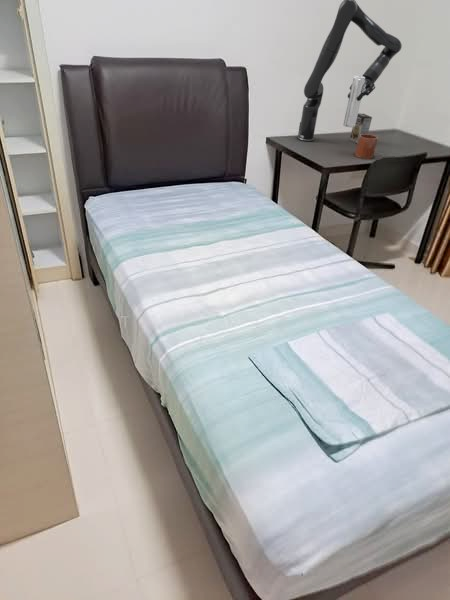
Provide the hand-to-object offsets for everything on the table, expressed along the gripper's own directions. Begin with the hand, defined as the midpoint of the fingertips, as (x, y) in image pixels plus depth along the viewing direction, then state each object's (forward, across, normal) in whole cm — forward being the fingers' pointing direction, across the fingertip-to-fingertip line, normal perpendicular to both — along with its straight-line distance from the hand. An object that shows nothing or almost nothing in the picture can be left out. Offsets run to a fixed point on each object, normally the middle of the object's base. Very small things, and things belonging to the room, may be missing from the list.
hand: (353, 98), depth 234 cm
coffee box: (-1, -14, +43) cm, 45 cm away
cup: (+14, +9, +28) cm, 32 cm away
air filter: (+9, 0, +12) cm, 15 cm away
